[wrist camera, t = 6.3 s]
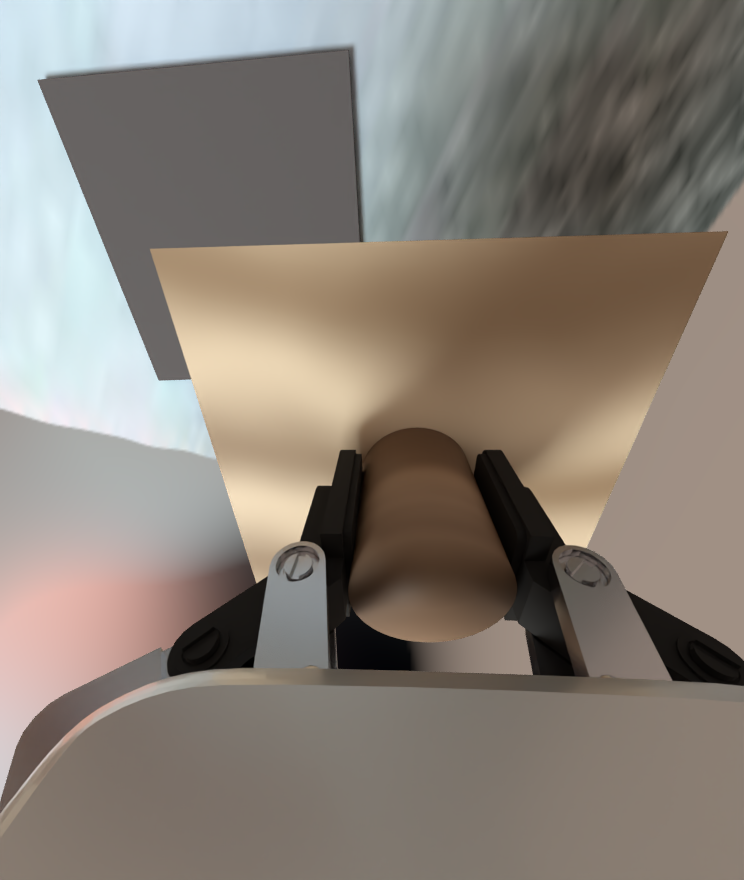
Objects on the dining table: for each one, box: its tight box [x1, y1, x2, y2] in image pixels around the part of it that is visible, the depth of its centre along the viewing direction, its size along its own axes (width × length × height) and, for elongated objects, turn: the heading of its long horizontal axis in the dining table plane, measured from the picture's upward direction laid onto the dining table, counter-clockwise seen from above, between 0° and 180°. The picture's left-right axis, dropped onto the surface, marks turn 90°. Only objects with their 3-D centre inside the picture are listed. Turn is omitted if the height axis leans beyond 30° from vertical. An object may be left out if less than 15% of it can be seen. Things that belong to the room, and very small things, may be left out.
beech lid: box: [150, 231, 728, 642], centre depth 10 cm, size 15×15×6 cm
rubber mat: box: [38, 50, 360, 380], centre depth 25 cm, size 20×20×1 cm
